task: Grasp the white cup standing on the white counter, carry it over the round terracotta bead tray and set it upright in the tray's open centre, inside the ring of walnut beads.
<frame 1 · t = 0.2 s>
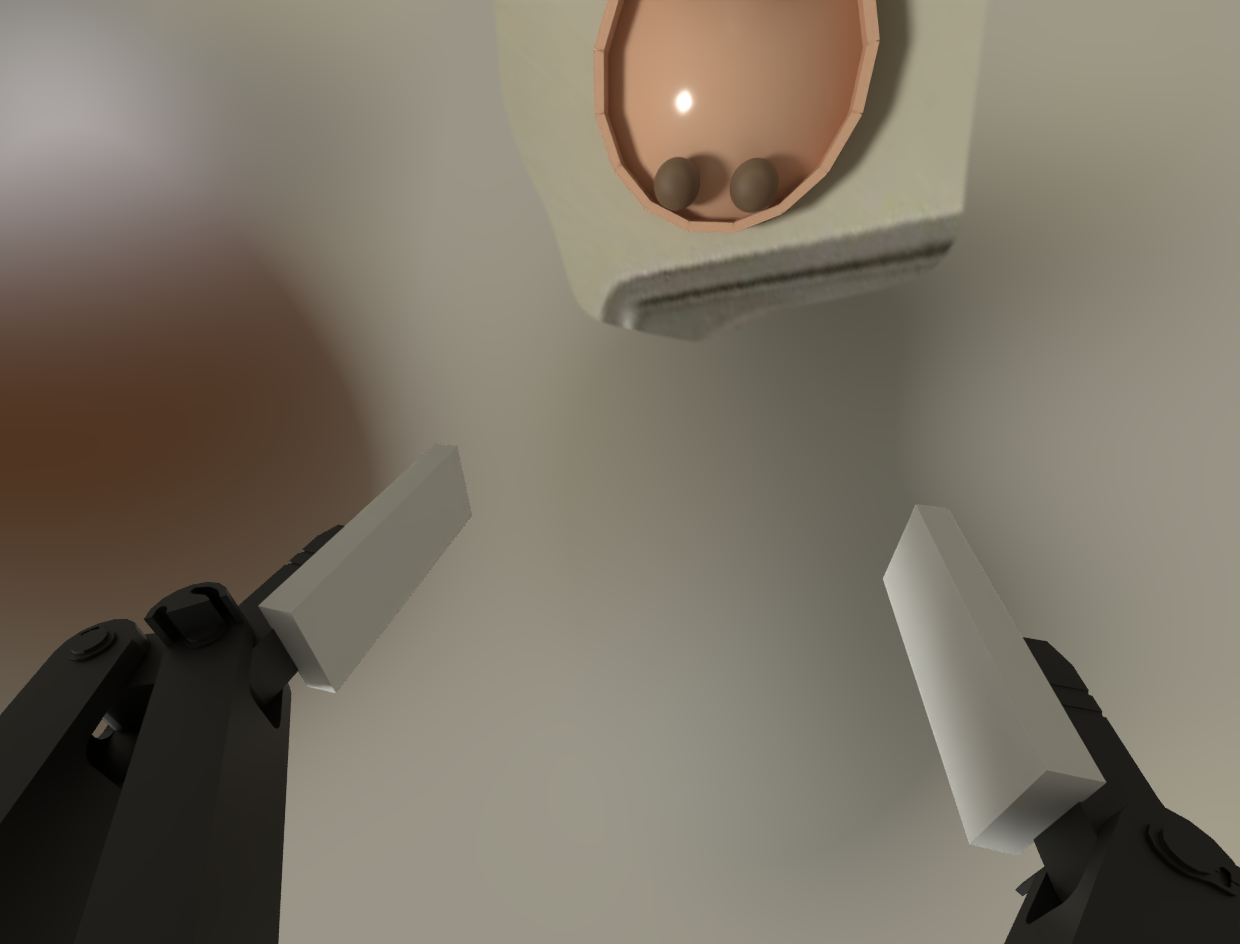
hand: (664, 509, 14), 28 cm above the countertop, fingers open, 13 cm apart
bead 3: (676, 184, 31), point 2 cm above the countertop, touching tray
tray: (726, 85, 30), on the countertop
bead 1: (753, 186, 30), point 2 cm above the countertop, touching tray
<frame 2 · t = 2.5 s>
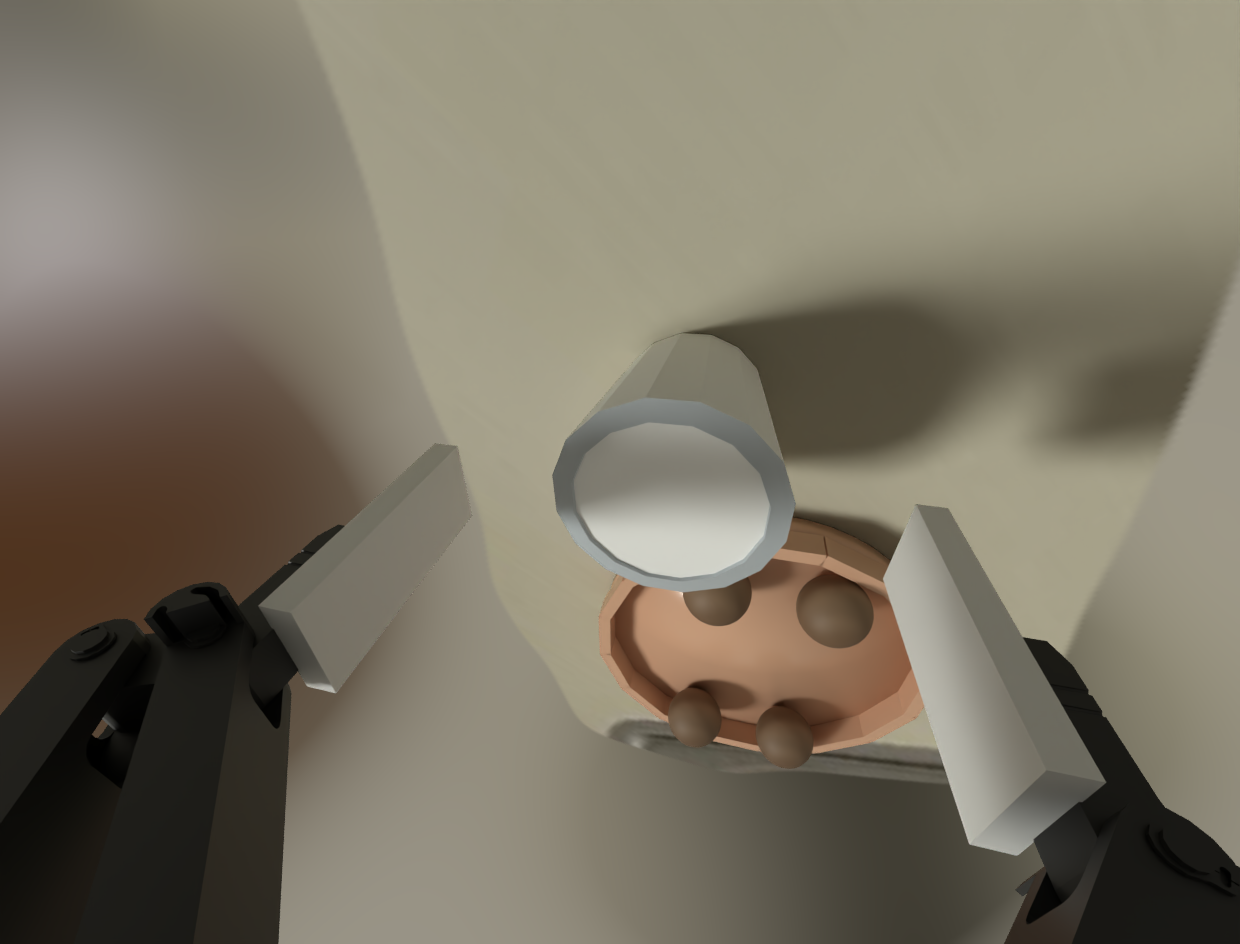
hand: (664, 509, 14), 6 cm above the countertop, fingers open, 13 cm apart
bead 4: (716, 590, 21), point 2 cm above the countertop, touching tray
bead 3: (694, 716, 27), point 2 cm above the countertop, touching tray
tray: (753, 630, 26), on the countertop
white cup: (691, 400, 19), on the countertop
bead 1: (784, 736, 26), point 2 cm above the countertop, touching tray
bead 2: (833, 610, 20), point 2 cm above the countertop, touching tray
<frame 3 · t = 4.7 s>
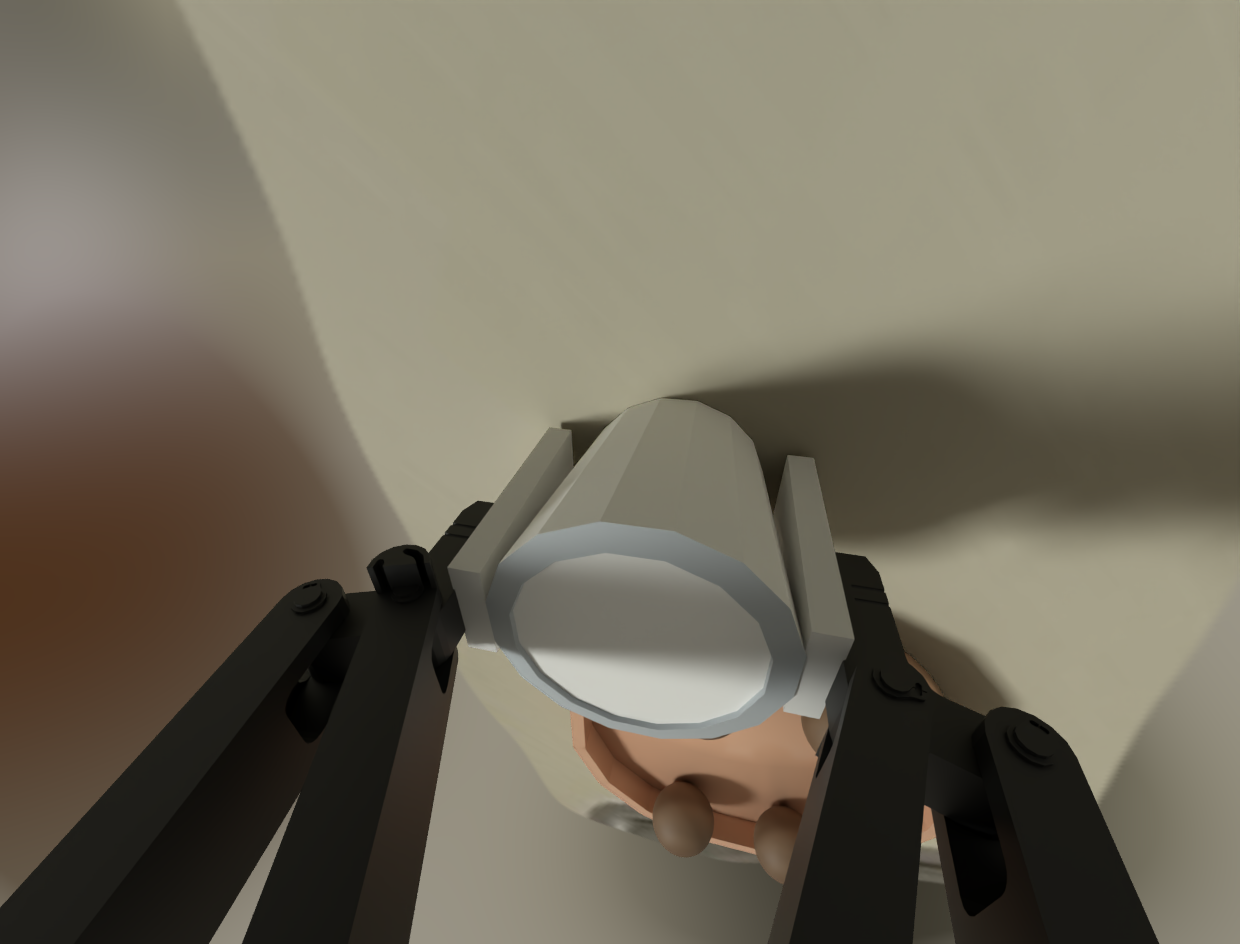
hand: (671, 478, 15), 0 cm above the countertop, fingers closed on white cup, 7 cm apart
bead 3: (682, 818, 23), point 2 cm above the countertop, touching tray
tray: (750, 721, 22), on the countertop
white cup: (675, 472, 16), on the countertop, touching gripper
bead 1: (786, 844, 22), point 2 cm above the countertop, touching tray
bead 2: (846, 722, 17), point 2 cm above the countertop, touching tray
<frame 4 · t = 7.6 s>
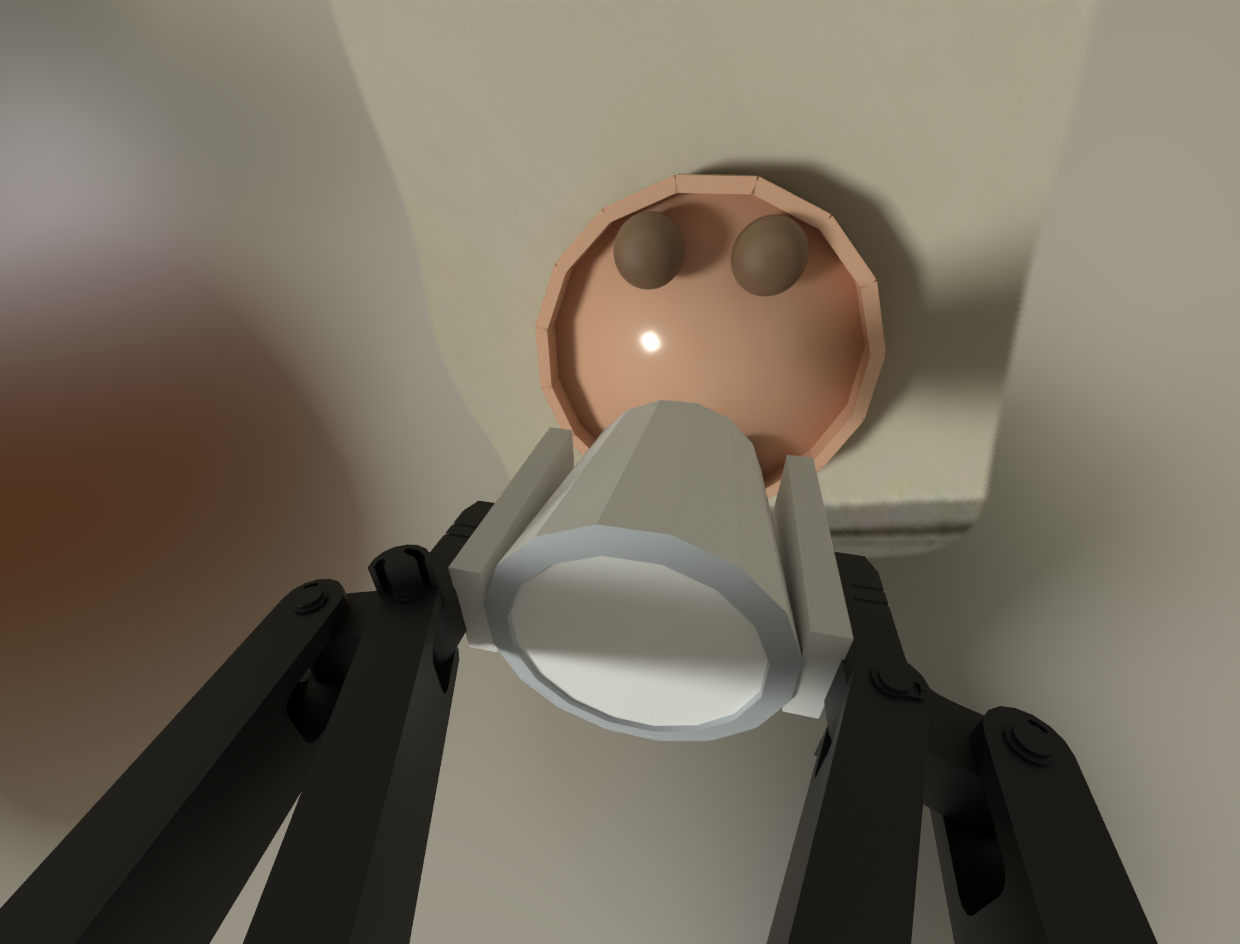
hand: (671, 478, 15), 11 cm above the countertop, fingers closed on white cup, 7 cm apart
bead 4: (648, 251, 20), point 2 cm above the countertop, touching tray
tray: (699, 356, 25), on the countertop
white cup: (674, 474, 16), point 11 cm above the countertop, touching gripper
bead 2: (768, 256, 19), point 2 cm above the countertop, touching tray
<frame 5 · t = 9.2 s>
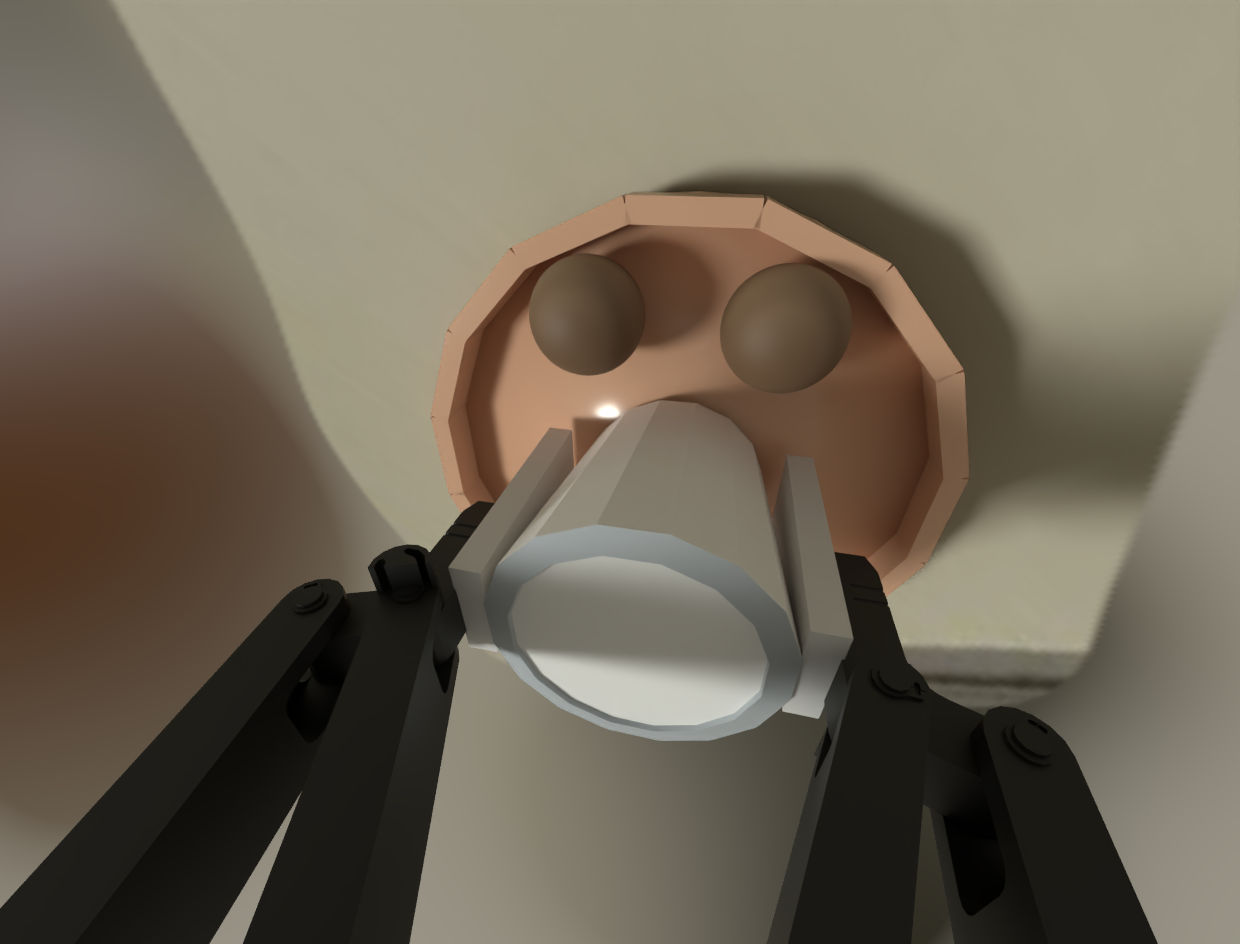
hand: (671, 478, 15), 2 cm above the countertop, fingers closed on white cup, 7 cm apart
bead 4: (587, 316, 12), point 2 cm above the countertop, touching tray
tray: (677, 452, 17), on the countertop
white cup: (674, 474, 16), point 1 cm above the countertop, touching gripper
bead 2: (783, 330, 11), point 2 cm above the countertop, touching tray
when the fingers open (1 cm above the countertop, at t = 10.3 s): white cup stays where it is, resting on tray.
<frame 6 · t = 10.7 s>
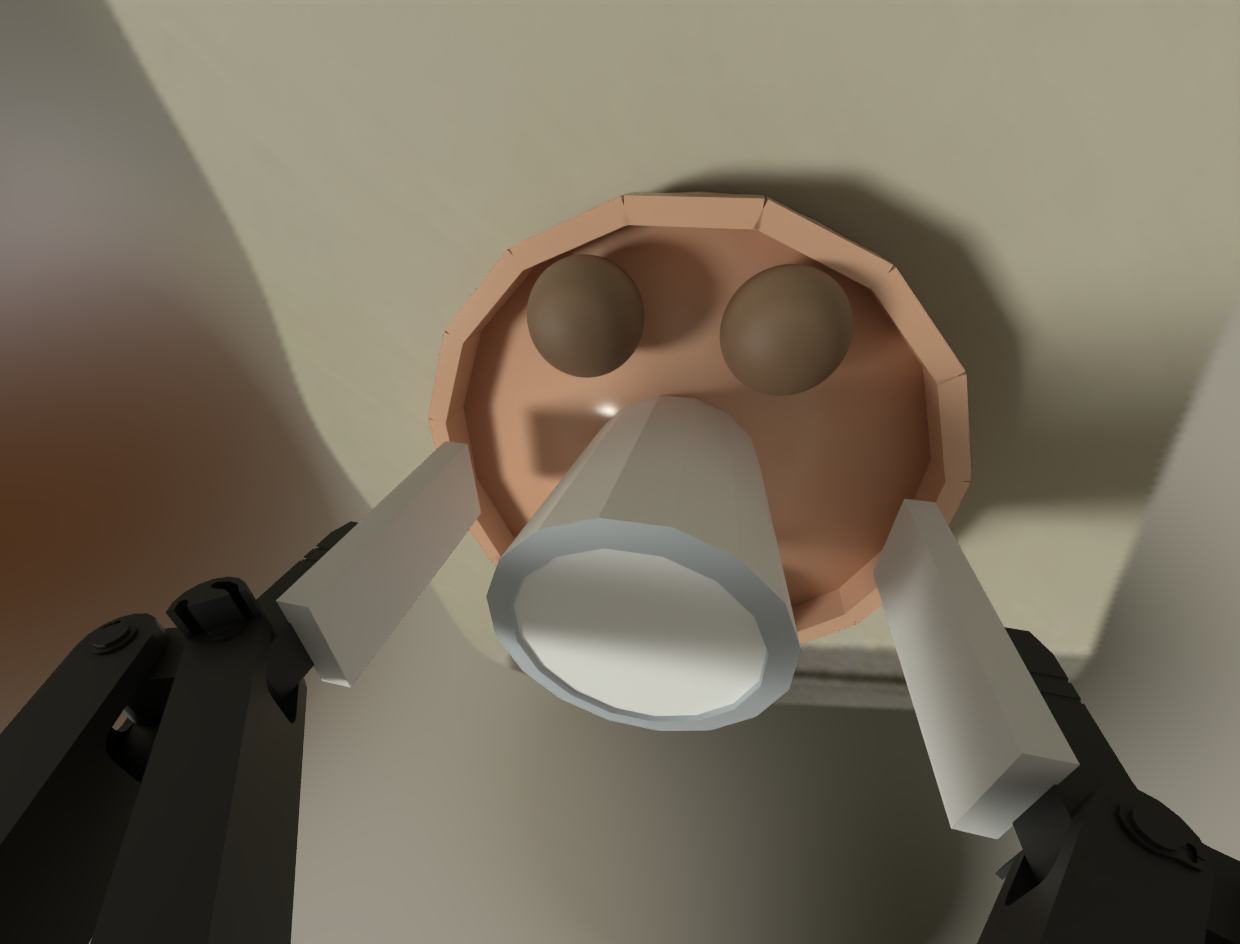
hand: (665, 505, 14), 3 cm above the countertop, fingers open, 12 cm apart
bead 4: (586, 318, 12), point 2 cm above the countertop, touching tray
tray: (677, 454, 17), on the countertop
white cup: (673, 469, 16), point 1 cm above the countertop, touching tray
bead 2: (783, 332, 11), point 2 cm above the countertop, touching tray
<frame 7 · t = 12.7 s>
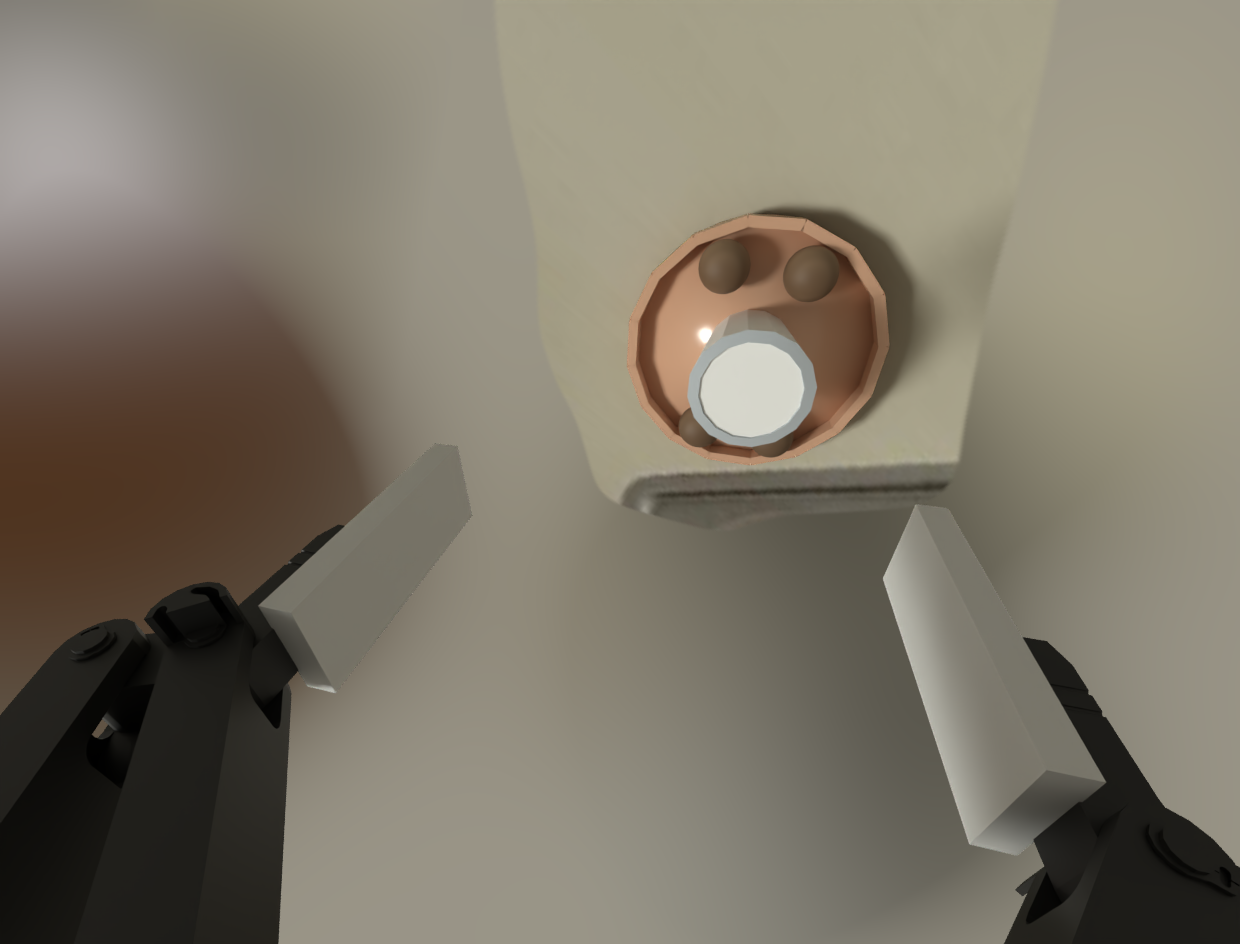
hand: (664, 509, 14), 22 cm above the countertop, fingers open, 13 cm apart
bead 4: (724, 267, 28), point 2 cm above the countertop, touching tray
bead 3: (699, 426, 34), point 2 cm above the countertop, touching tray
tray: (748, 346, 32), on the countertop
white cup: (748, 351, 32), point 1 cm above the countertop, touching tray
bead 1: (770, 435, 33), point 2 cm above the countertop, touching tray
bead 2: (810, 274, 27), point 2 cm above the countertop, touching tray
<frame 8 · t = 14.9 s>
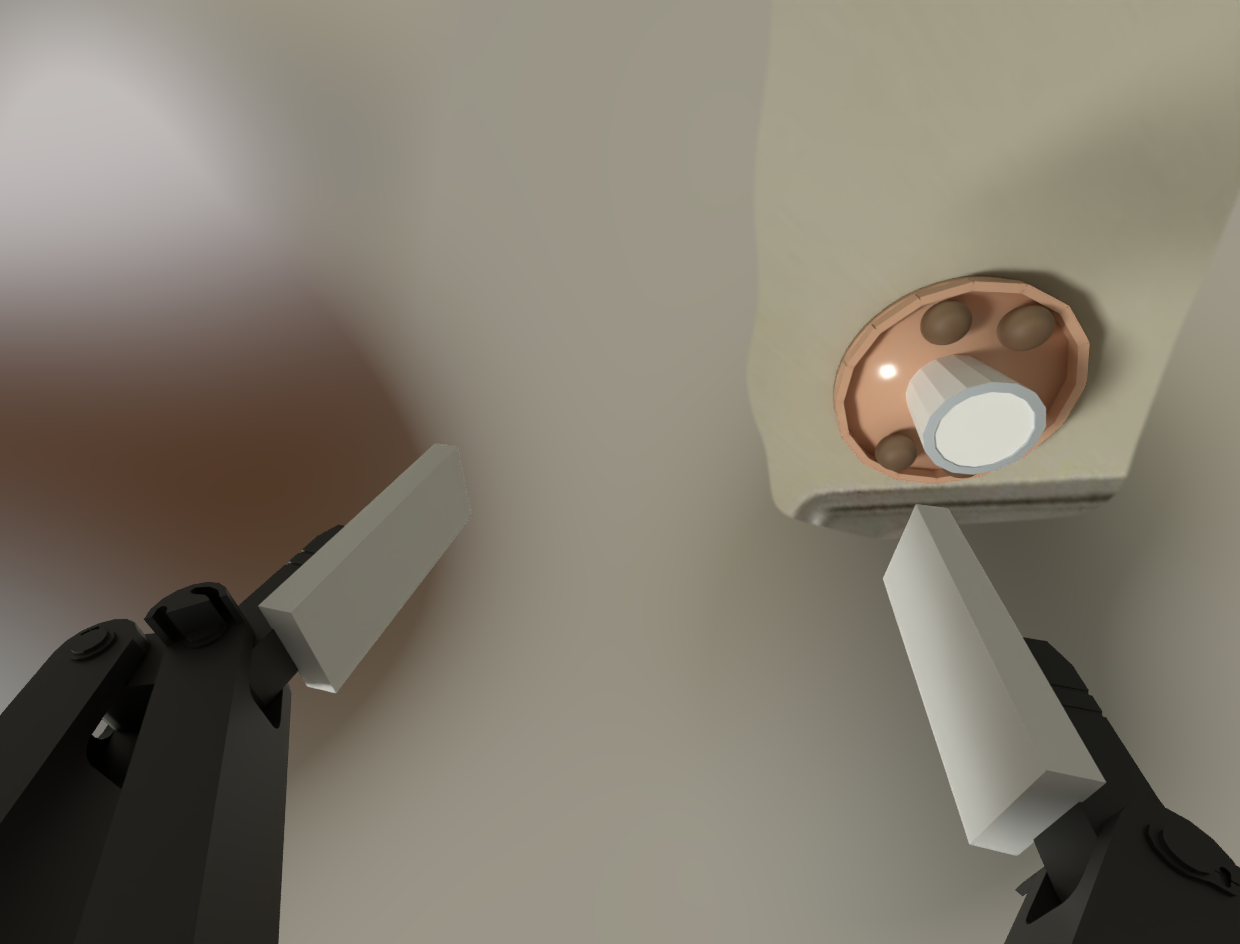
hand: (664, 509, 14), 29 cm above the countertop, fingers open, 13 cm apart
bead 4: (945, 323, 33), point 2 cm above the countertop, touching tray
bead 3: (895, 452, 39), point 2 cm above the countertop, touching tray
tray: (942, 383, 38), on the countertop
white cup: (945, 388, 37), point 1 cm above the countertop, touching tray
bead 1: (961, 459, 38), point 2 cm above the countertop, touching tray
bead 2: (1024, 328, 32), point 2 cm above the countertop, touching tray
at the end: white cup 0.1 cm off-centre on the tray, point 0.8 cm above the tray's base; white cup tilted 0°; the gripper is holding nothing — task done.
